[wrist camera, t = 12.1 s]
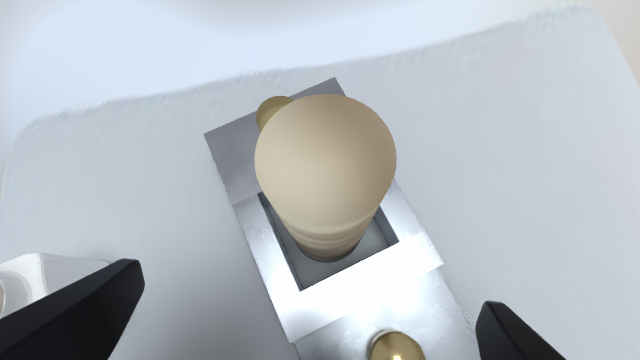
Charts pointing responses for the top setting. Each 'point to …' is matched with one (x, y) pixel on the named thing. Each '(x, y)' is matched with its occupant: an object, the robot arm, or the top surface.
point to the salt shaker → (39, 278)
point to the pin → (325, 171)
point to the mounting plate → (352, 283)
